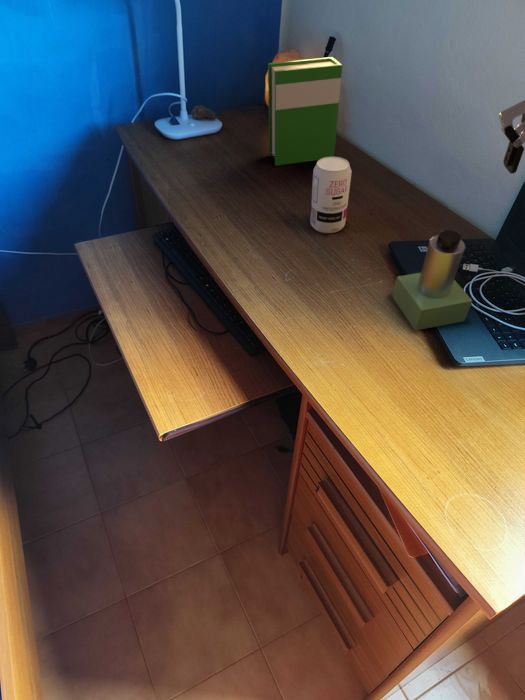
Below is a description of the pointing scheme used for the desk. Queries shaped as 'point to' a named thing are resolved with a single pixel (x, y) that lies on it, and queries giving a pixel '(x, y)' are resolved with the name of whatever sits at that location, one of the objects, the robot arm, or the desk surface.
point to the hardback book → (303, 109)
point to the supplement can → (330, 194)
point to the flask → (441, 264)
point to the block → (430, 304)
